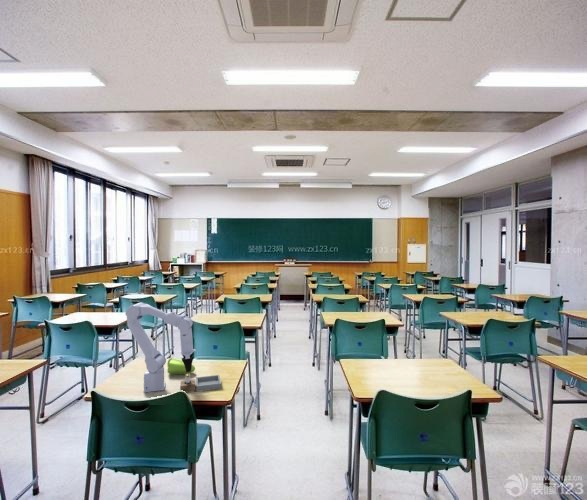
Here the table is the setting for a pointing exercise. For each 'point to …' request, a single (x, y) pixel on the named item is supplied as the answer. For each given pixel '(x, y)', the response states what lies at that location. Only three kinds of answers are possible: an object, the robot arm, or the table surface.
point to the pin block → (187, 385)
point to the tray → (208, 383)
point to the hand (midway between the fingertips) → (188, 369)
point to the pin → (187, 378)
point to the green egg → (177, 367)
